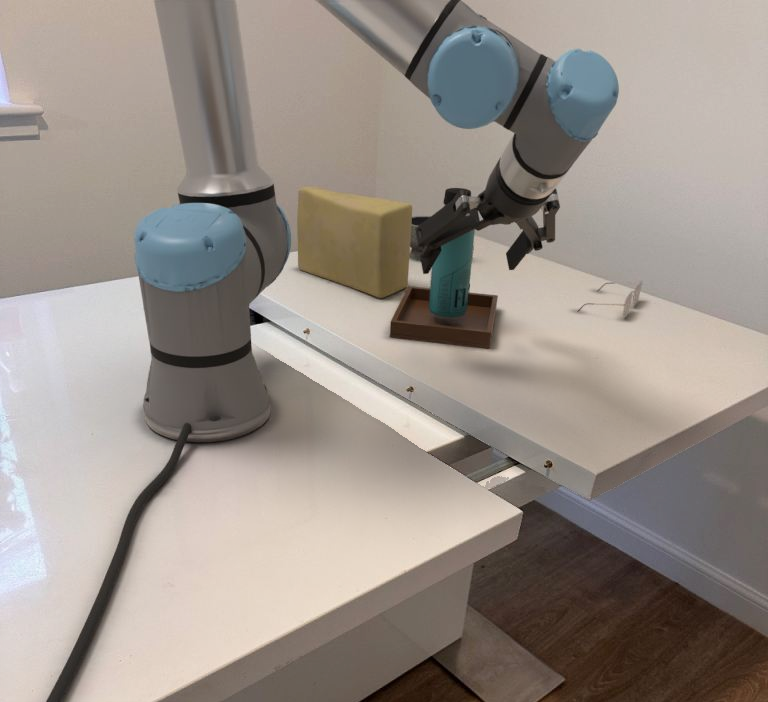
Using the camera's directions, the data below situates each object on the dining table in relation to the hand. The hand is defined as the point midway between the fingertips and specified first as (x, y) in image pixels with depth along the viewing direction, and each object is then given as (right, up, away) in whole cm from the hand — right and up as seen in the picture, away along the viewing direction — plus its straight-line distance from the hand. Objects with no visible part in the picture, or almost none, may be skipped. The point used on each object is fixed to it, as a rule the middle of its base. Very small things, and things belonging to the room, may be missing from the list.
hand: (467, 263), depth 106 cm
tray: (-2, -6, +12) cm, 14 cm away
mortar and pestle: (-3, +16, +43) cm, 46 cm away
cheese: (-19, +6, +28) cm, 34 cm away
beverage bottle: (-2, -5, +12) cm, 13 cm away
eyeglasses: (+28, 0, +23) cm, 36 cm away
